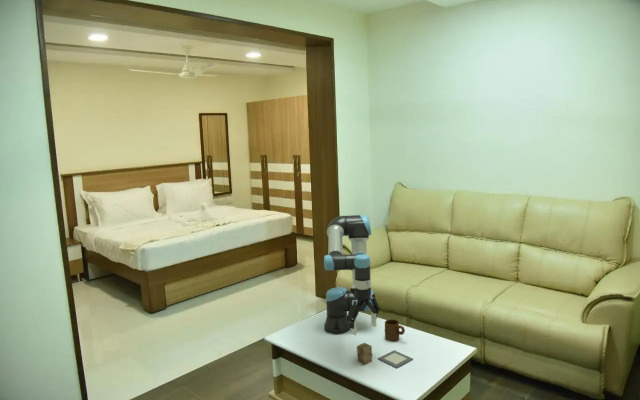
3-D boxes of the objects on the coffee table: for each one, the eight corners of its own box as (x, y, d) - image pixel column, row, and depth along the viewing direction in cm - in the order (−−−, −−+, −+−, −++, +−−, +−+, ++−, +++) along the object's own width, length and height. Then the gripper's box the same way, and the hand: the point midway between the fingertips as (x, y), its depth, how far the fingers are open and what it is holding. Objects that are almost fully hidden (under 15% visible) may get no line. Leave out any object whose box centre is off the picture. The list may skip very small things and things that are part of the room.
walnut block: (357, 361, 215) (357, 345, 214) (364, 357, 218) (364, 342, 217) (364, 365, 211) (364, 349, 210) (372, 361, 214) (371, 346, 213)
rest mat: (377, 359, 216) (377, 358, 216) (394, 351, 223) (394, 350, 223) (396, 368, 207) (396, 367, 207) (413, 359, 214) (413, 358, 214)
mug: (408, 340, 234) (408, 324, 233) (400, 345, 229) (399, 328, 228) (390, 334, 243) (390, 317, 241) (382, 338, 238) (381, 322, 236)
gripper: (349, 296, 199) (350, 340, 201) (386, 283, 214) (387, 324, 217) (337, 292, 204) (339, 335, 207) (375, 279, 220) (376, 320, 223)
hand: (364, 330), depth 212 cm, fingers open, 13 cm apart
